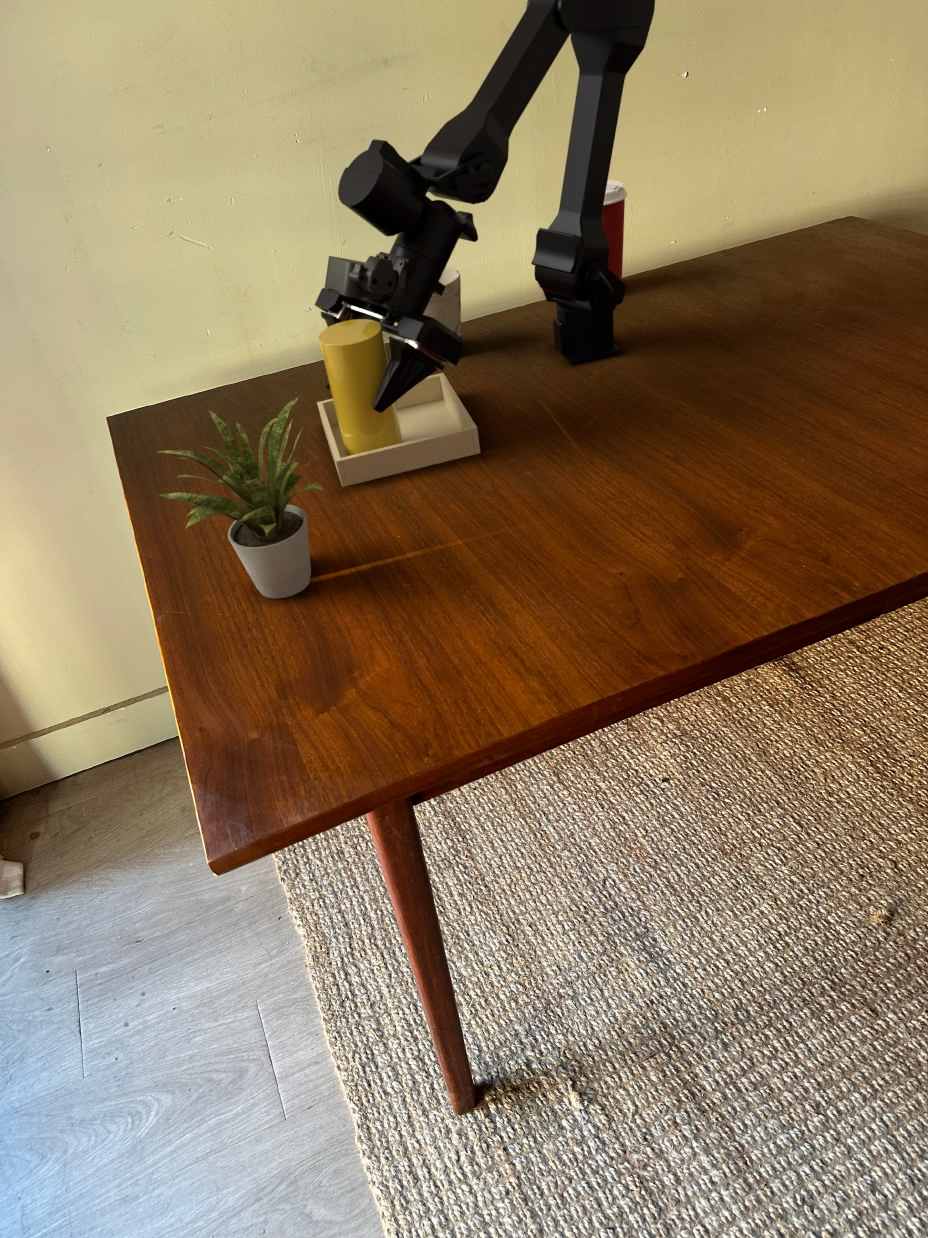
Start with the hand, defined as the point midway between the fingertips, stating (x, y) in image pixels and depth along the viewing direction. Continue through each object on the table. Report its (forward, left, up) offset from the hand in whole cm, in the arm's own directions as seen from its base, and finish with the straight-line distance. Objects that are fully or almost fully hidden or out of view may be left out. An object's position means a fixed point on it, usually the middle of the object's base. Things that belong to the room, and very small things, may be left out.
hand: (352, 399), depth 96 cm
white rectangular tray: (-4, -3, -8) cm, 9 cm away
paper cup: (-40, -33, -8) cm, 53 cm away
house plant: (+11, +17, -8) cm, 22 cm away
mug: (-12, -26, -8) cm, 29 cm away
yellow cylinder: (-1, -1, -7) cm, 7 cm away
